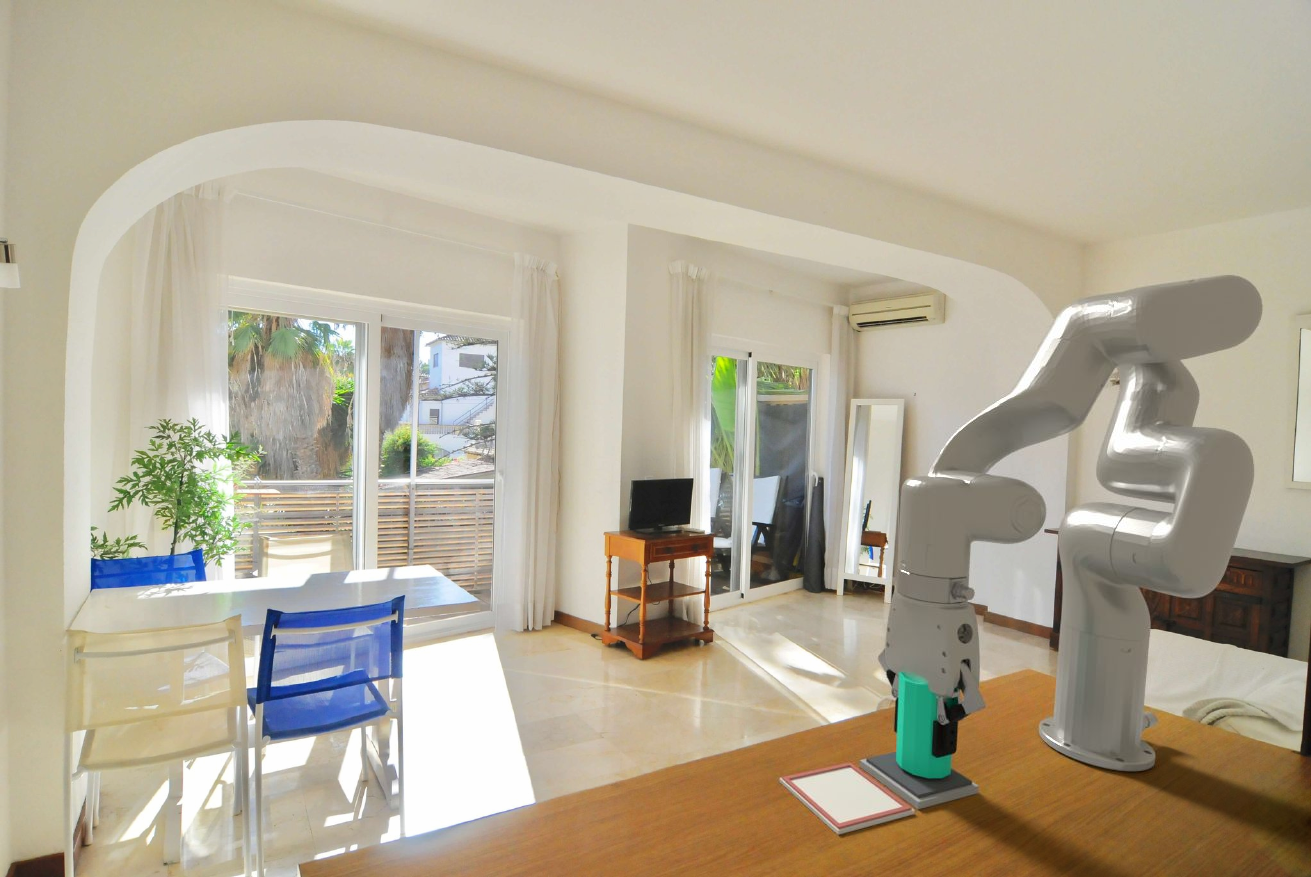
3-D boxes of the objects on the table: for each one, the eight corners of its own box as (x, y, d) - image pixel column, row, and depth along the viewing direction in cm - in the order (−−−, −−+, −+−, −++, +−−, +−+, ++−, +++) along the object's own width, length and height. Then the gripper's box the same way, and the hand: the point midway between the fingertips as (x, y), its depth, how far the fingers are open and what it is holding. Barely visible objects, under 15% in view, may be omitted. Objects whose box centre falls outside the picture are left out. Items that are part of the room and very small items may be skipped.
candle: (957, 781, 74) (962, 674, 74) (899, 774, 75) (903, 669, 75) (945, 753, 80) (949, 654, 79) (892, 747, 81) (896, 650, 81)
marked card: (849, 765, 80) (850, 761, 80) (914, 813, 71) (914, 808, 71) (779, 781, 76) (779, 776, 76) (837, 834, 67) (838, 828, 67)
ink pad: (916, 753, 84) (917, 744, 84) (978, 793, 75) (979, 782, 75) (859, 766, 80) (860, 756, 80) (917, 809, 72) (918, 798, 72)
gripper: (1022, 604, 70) (1013, 773, 71) (901, 566, 86) (894, 706, 87) (970, 611, 67) (961, 789, 68) (854, 570, 83) (848, 716, 84)
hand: (924, 740), depth 78 cm, fingers closed on candle, 4 cm apart
